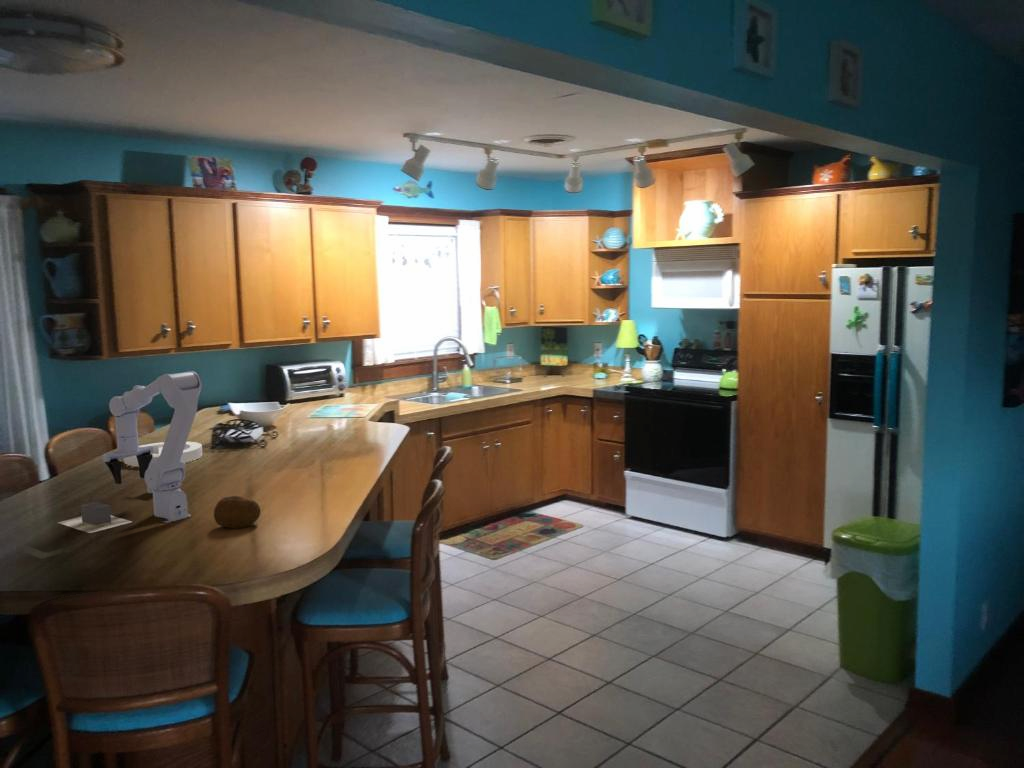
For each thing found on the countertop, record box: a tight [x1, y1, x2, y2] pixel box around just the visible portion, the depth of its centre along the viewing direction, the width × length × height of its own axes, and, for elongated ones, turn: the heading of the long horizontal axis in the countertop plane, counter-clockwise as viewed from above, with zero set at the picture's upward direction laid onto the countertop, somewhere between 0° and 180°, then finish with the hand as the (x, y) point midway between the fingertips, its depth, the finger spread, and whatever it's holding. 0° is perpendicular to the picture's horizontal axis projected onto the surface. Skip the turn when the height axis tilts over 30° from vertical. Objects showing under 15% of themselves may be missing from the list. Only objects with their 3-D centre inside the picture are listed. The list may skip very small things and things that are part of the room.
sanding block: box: [80, 501, 112, 527], centre depth 220 cm, size 7×4×5 cm, turn 55°
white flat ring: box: [123, 441, 203, 466], centre depth 306 cm, size 28×28×5 cm
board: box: [57, 515, 133, 534], centre depth 221 cm, size 18×12×1 cm, turn 55°
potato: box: [213, 495, 261, 529], centre depth 218 cm, size 8×12×9 cm
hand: (130, 480), depth 234 cm, fingers open, 7 cm apart
